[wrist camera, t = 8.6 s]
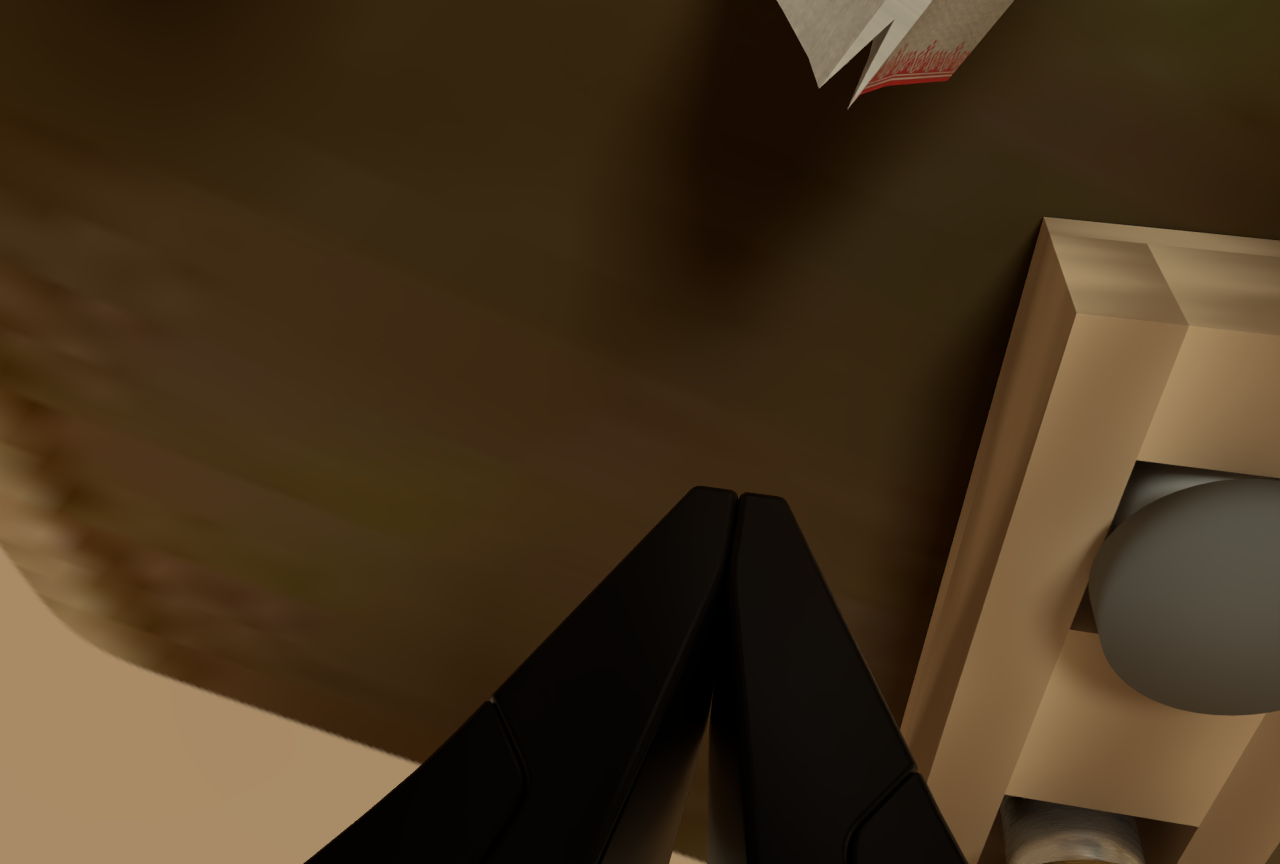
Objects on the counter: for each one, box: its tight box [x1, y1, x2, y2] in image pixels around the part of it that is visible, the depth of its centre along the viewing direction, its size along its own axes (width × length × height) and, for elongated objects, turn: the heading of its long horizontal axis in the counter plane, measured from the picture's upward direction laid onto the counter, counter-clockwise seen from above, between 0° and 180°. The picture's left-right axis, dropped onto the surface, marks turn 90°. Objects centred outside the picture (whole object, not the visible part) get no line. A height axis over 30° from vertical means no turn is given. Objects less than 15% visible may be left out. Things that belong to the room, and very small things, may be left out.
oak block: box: [900, 217, 1280, 864], centre depth 24 cm, size 8×20×4 cm, turn 178°
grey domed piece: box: [1088, 460, 1280, 716], centre depth 20 cm, size 5×5×4 cm
